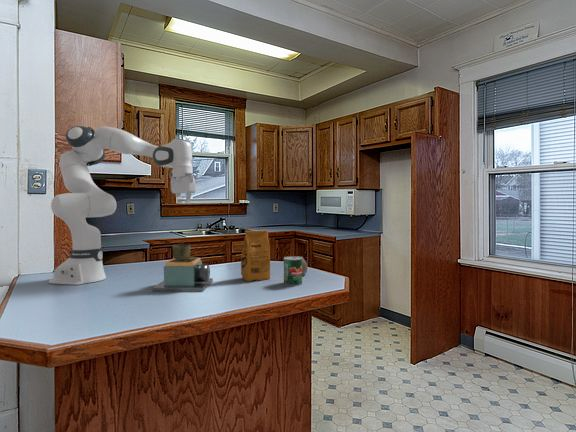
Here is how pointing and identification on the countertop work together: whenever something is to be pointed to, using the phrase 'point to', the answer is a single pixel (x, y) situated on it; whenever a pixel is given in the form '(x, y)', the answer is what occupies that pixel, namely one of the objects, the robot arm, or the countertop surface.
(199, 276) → the motor mount
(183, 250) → the cup
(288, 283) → the canned tomato
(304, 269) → the vase
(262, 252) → the coffee package
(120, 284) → the countertop surface
